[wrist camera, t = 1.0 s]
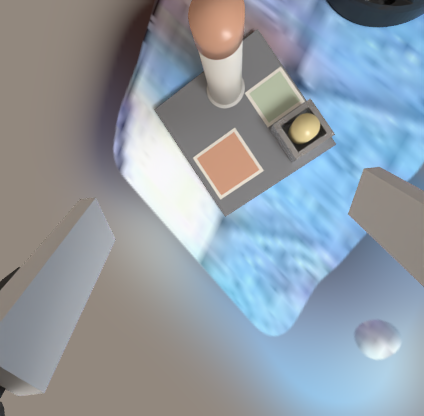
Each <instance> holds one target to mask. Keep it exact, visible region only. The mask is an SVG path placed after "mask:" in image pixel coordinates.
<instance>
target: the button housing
mask: <svg viewBox="0 0 424 416" xmlns="http://www.w3.org/2000/svg"><path fill="white" fill-rule="evenodd" d="M305 113H310V114H313V115H315V116H316V117H317V118H318V120H319V122H320V129H319V132H318V134H317V136H318V137H319V139H317V140H316V141H314V142H313V143H311V144H310V145H308V146H307V147H305V148H304V149H302V150H301V151H299V152H298V151H297V150H296V148H295V147H294V145H293V144H292V142H291V141H290V139H289V138H288V136H287V135H286V133H285V132H284V130H283V129H282V128H283V127H285V126H286V125H288V124H289V123H291V122H292V121H293V120H295V119H296V118H297V117H298V116H300V115H301V114H305ZM270 131H271V133H272V134H273V136H274V137H275V139H276V140H277V142H278V143H279V145H280V146H281V148H282V149H283V151H284V152H285V154H286V155H287V157H288V158H289V159H290V161H291V162H294V161H295V160H297V159H298V158H300V157H301V156H303V155H304V154H306V153H308V152H309V151H311V150H312V149H314V148H315V147H317V146H318V145H320V144H321V143H323V142H324V141H326V140H327V139H329V138H330V137H332V136H333V135H335V134H334V132H333V131H332V129H331V128H330V126H329V125H328V124H327V122H326V121H325V119H324V118H323V116H322V115H321V113H320V112H319V110H318V109H317V108H316V106H315V105H314V103H313V102H312V100H311V99H309V100H308V101H306V102H305V103H303V104H302V105H301V106H299V107H298V108H296V109H295V110H293V111H292V112H291V113H289V114H288V115H286V116H285V117H283V118H282V119H281V120H279V121H278V122H276V123H275V124H273V126H272V128H271V130H270Z"/></svg>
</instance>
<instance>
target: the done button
mask: <svg viewBox="0 0 424 416" xmlns="http://www.w3.org/2000/svg"><path fill="white" fill-rule="evenodd" d="M319 129H320V122H319V120H318V118H317V117H316V116H315V115H313V114H310V113H305V114H301V115H300V116H298V117H297V118H296V119H295V121H294V122H293V123H292V125H291V126H290V128H289V131H288V135H289V138H290V140H291V141H292V142H294V143H295V144H305V143H307V142H308V141H310V140H311V139H312V138H313V137H315V136H316V135H317V134H318V132H319Z"/></svg>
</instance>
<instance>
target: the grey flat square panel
mask: <svg viewBox="0 0 424 416" xmlns="http://www.w3.org/2000/svg"><path fill="white" fill-rule="evenodd" d="M305 102H306V99H305V98H304V96H303V95H302V94H301V92H300V91H299V89H298V88H297V86H296V85H295V83H294V82H293V80H292V79H291V77H290V76H289V75H288V73H287V72H286V70H285V69H284V67H283V66H282V64H281V63H280V61H279V60H278V58H277V57H276V56H275V54H274V53H273V51H272V50H271V48H270V47H269V45H268V44H267V42H266V41H265V39H264V38H263V37H262V35H261V34H260V32H259V31H258V29H257V30H256V31H254V32H253V33H252V34H251V35H249V36H248V37H247V38H246V39H244V40H243V47H242V89H241V93H240V96H239V97H238V99H237V100H236V101H235V102H233V103H231V104H228V105H221V104H218V103H216V102H215V101H214V100H213V99H212V97H211V94H210V91H209V87H208V83H207V80H206V76H205V73H204V71H203V72H202V73H201V74H200V75H198V76H197V77H196V78H194V79H193V80H192V81H191V82H189V83H188V84H187V85H186V86H184V87H183V88H182V89H180V90H179V91H178V92H177V93H175V94H174V95H173V96H171V97H170V98H169V99H168V100H166V101H165V102H164V103H163V104H161V105H160V106H159V107H157V108H156V109H155V111H156V113H157V114H158V116H159V117H160V119H161V120H162V122H163V123H164V125H165V126H166V128H167V129H168V131H169V132H170V134H171V135H172V137H173V138H174V140H175V141H176V143H177V145H178V146H179V148H180V149H181V151H182V152H183V154H184V155H185V157H186V158H187V160H188V161H189V163H190V164H191V166H192V167H193V169H194V170H195V172H196V173H197V175H198V176H199V178H200V179H201V181H202V182H203V184H204V185H205V187H206V188H207V190H208V191H209V193H210V194H211V196H212V197H213V199H214V200H215V202H216V203H217V205H218V206H219V208H220V209H221V211H222V212H223V214H224V215H225V217H226V216H227V215H229V214H230V213H232V212H233V211H235V210H236V209H238V208H239V207H241V206H243V205H244V204H246V203H247V202H249V201H250V200H252V199H253V198H255V197H256V196H258V195H259V194H261V193H262V192H264V191H266V190H267V189H269V188H270V187H272V186H273V185H275V184H276V183H278V182H279V181H281V180H282V179H284V178H285V177H287V176H288V175H290V174H292V173H293V172H295V171H296V170H298V169H299V168H301V167H302V166H304V165H305V164H307V163H308V162H310V161H311V160H313V159H315V158H316V157H318V156H319V155H321V154H322V153H324V152H325V151H327V150H328V149H330V148H331V147H333V146H334V145H336V143H335V142H334V140H333V139H332V137H330V138H329V139H327V140H326V141H324V142H323V143H321V144H320V145H318V146H317V147H315V148H314V149H312V150H311V151H309V152H308V153H306V154H304V155H303V156H301V157H300V158H298V159H297V160H295V161H294V162H291V161H290V159H289V158H288V157H287V155H286V154H285V152H284V151H283V149H282V148H281V146H280V145H279V143H278V142H277V140H276V139H275V137H274V136H273V134H272V133H271V131H270V130H271V128H272V126H273V124H275V123H276V122H278V121H279V120H281V119H282V118H283V117H285V116H286V115H288V114H289V113H291V112H292V111H293V110H295V109H296V108H298V107H299V106H301V105H302V104H303V103H305ZM294 121H295V120H293V121H292V122H291V123H289V124H288V125H286V126H285V127H283V128H282V129H283V130H284V132H285V133H286V135H287V136H288V138H289V135H288V131H289V128H290V126H291V125H292V123H293V122H294ZM289 139H290V138H289ZM317 139H319V137H318V136H317V135H316V136H315V137H313V138H312V139H311V140H310V141H308V142H307V143H305V144H295V143H294V142H292V141H291V140H290V141H291V142H292V144H293V145H294V147H295V148H296V150H297V151H298V152H299V151H301V150H302V149H304V148H305V147H307V146H308V145H310V144H311V143H313V142H314V141H316V140H317Z"/></svg>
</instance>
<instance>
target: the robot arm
mask: <svg viewBox="0 0 424 416" xmlns="http://www.w3.org/2000/svg"><path fill="white" fill-rule="evenodd" d="M328 1H329V3H330V4H331V6H332V7H333V8H334V9H335V10H336V11H337V12H338V13H339V14H341V15H342V16H343V17H345V18H346V19H348V20H350V21H352V22H354V23H357V24H360V25H364V26H370V27H388V26H394V25H399V24H402V23H405V22H408V21H410V20H413V19H415V18H417V17H419V16H420V15H422V14H424V0H328ZM348 215H349V216H351V217H352V218H353V219H354V220H355V221H356V222H357V223H358V224H359V225H360V226H361V227H362V228H363V229H364V230H365V231H366V232H367V233H368V234H369V235H370V236H371V237H372V238H373V239H375V240H376V241H377V242H378V243H379V244H380V245H381V246H382V247H383V248H384V249H385V250H386V251H387V252H388V253H389V254H390V255H391V256H392V257H393V258H394V259H395V260H396V261H397V262H398V263H400V264H401V265H402V266H403V267H404V268H405V269H406V270H407V271H408V272H409V273H410V274H411V275H412V276H413V277H414V278H415V279H416V280H417V281H418V282H419V283H420V284H421V285H423V286H424V191H423V190H421V189H419V188H417V187H416V186H414V185H412V184H410V183H408V182H406V181H404V180H403V179H401V178H399V177H397V176H395V175H393V174H391V173H390V172H388V171H386V170H384V169H382V168H380V167H375V168H365V169H364V170H363V173H362V176H361V179H360V181H359V184H358V187H357V190H356V193H355V196H354V199H353V201H352V204H351V207H350V210H349V213H348ZM115 240H116V239H115V237H114V235H113V233H112V231H111V229H110V227H109V224H108V222H107V220H106V218H105V216H104V214H103V212H102V210H101V207H100V205H99V203H98V201H97V199H96V198H87V199H80V200H79V201H78V202H77V204H76V205H75V206H74V207H73V208H72V209H71V210H70V211H69V213H68V214H67V215H66V216H65V217H64V218H63V219H62V221H61V222H60V223H59V224H58V225H57V226H56V228H55V229H54V230H53V231H52V232H51V233H50V234H49V235H48V237H47V238H46V239H45V240H44V241H43V242H42V243H41V245H40V246H39V247H38V248H37V249H36V251H34V253H33V254H32V255H31V256H30V257H29V258H28V259H27V261H26V262H25V263H24V264H23V265H22V266H21V267H18V268H17V269H16V270H14V271H13V272H12V273H10V274H9V275H8V276H7V277H5V278H4V279H2V281H1V282H0V398H1V396H2V394H3V393H4V391H5V389H6V390H8V391H10V392H12V393H13V394H15V395H17V396H23V395H32V394H41V393H45V391H46V388H47V386H48V384H49V382H50V379H51V377H52V375H53V373H54V371H55V369H56V366H57V365H58V363H59V360H60V358H61V356H62V354H63V352H64V350H65V348H66V345H67V343H68V341H69V339H70V337H71V334H72V332H73V330H74V328H75V326H76V324H77V321H78V319H79V317H80V315H81V313H82V311H83V309H84V306H85V304H86V302H87V300H88V298H89V296H90V293H91V291H92V289H93V287H94V285H95V283H96V281H97V279H98V276H99V274H100V272H101V270H102V268H103V266H104V263H105V261H106V259H107V257H108V255H109V253H110V250H111V248H112V246H113V244H114V242H115ZM0 416H5V414H4V407H3V404H2V402H0Z"/></svg>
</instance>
